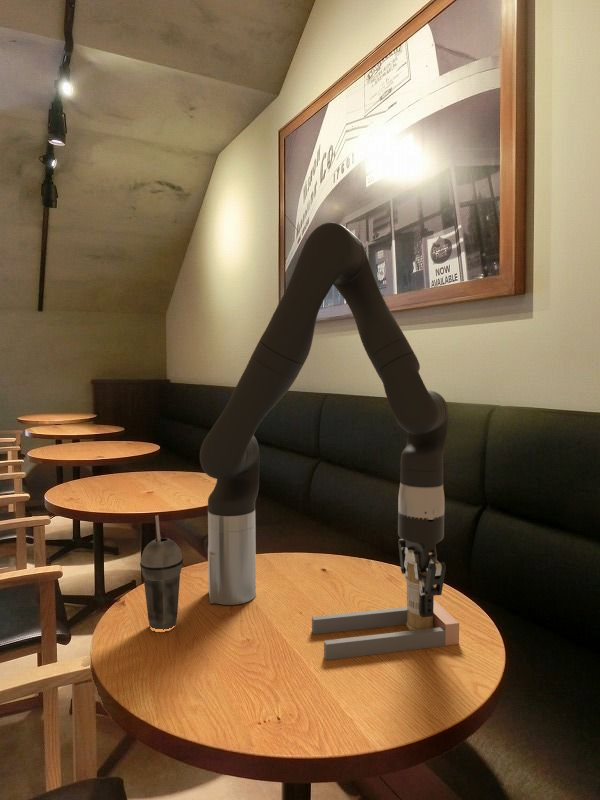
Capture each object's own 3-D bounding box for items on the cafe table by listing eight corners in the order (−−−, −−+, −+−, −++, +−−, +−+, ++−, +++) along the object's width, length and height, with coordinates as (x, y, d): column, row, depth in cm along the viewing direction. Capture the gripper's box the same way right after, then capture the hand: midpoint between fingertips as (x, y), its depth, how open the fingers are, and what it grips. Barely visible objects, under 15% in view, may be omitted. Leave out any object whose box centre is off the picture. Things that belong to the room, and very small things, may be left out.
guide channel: (326, 660, 82) (326, 638, 82) (311, 631, 92) (311, 611, 91) (458, 643, 87) (459, 623, 87) (432, 617, 96) (433, 598, 96)
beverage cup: (192, 620, 96) (190, 510, 95) (169, 639, 89) (167, 521, 88) (157, 614, 98) (155, 506, 97) (132, 633, 91) (129, 517, 90)
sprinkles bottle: (439, 629, 90) (440, 551, 89) (419, 637, 88) (421, 556, 87) (419, 619, 94) (420, 544, 93) (400, 626, 91) (401, 548, 91)
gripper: (384, 500, 96) (383, 594, 97) (418, 523, 82) (416, 632, 83) (423, 498, 97) (422, 590, 98) (463, 520, 83) (461, 627, 84)
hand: (419, 608), depth 91 cm, fingers closed on sprinkles bottle, 4 cm apart
